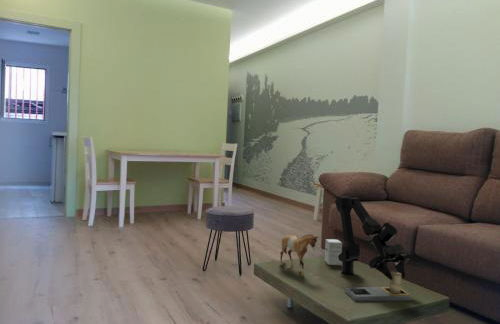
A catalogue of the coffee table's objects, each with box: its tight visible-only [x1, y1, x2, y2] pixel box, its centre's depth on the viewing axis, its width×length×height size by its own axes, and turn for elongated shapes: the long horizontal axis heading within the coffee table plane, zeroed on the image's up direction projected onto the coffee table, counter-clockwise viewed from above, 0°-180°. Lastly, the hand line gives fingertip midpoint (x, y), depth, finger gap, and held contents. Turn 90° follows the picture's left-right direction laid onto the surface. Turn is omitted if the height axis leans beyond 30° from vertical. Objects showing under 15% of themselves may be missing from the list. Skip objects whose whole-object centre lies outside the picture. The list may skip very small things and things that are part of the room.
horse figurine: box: [279, 234, 319, 277], centre depth 207 cm, size 31×8×21 cm, turn 25°
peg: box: [389, 271, 402, 294], centre depth 175 cm, size 4×4×10 cm
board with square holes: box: [344, 286, 412, 302], centre depth 174 cm, size 25×11×2 cm, turn 98°
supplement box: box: [324, 238, 343, 266], centre depth 222 cm, size 7×7×13 cm
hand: (398, 278), depth 173 cm, fingers open, 7 cm apart
